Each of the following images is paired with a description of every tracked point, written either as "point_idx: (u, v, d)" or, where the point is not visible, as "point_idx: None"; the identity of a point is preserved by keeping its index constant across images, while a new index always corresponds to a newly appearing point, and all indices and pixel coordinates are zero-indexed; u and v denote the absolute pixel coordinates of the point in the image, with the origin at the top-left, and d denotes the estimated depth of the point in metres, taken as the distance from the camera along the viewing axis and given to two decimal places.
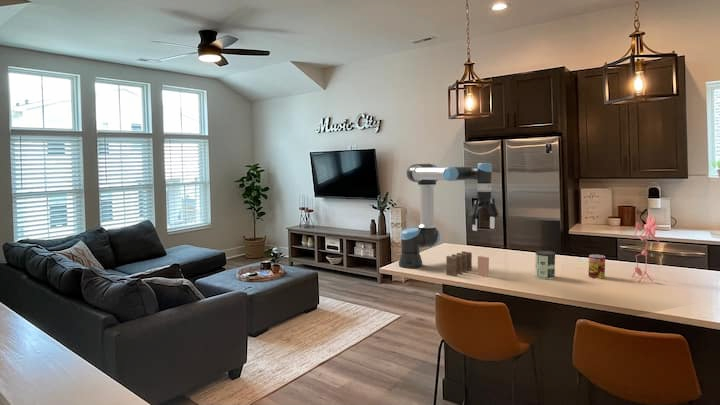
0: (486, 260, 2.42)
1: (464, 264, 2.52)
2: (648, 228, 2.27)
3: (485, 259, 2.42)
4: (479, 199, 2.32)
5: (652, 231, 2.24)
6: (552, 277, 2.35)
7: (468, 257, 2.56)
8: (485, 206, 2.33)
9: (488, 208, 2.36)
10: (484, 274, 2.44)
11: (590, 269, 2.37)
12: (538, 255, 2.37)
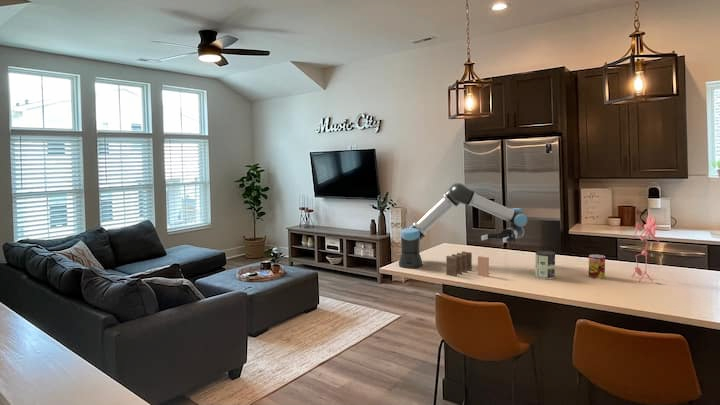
0: (486, 260, 2.42)
1: (464, 264, 2.52)
2: (648, 228, 2.27)
3: (485, 259, 2.42)
4: (511, 236, 2.60)
5: (652, 231, 2.24)
6: (552, 277, 2.35)
7: (468, 257, 2.56)
8: (502, 238, 2.60)
9: (496, 236, 2.61)
10: (484, 274, 2.44)
11: (590, 269, 2.37)
12: (538, 255, 2.37)
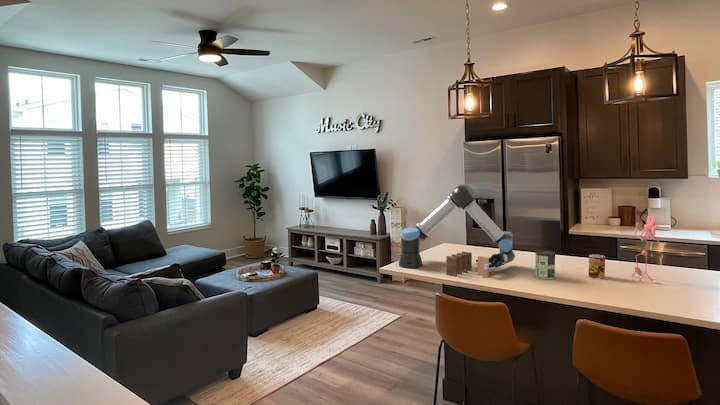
0: (486, 260, 2.42)
1: (464, 264, 2.52)
2: (648, 228, 2.27)
3: (485, 259, 2.42)
4: None
5: (652, 231, 2.24)
6: (552, 277, 2.35)
7: (468, 257, 2.56)
8: (492, 263, 2.52)
9: None
10: (484, 274, 2.44)
11: (590, 269, 2.37)
12: (538, 255, 2.37)
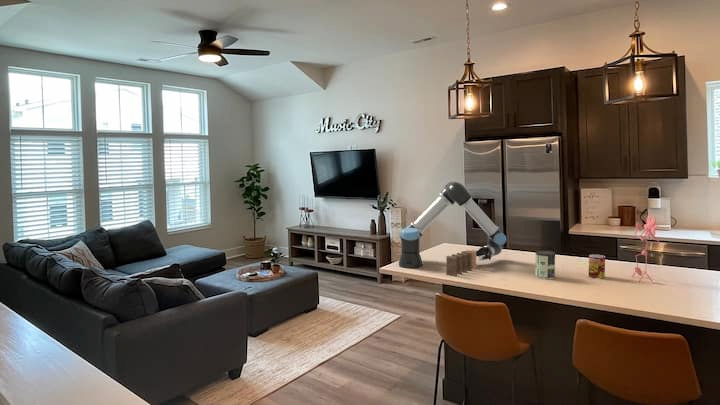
0: (473, 253, 2.60)
1: (464, 264, 2.52)
2: (648, 228, 2.27)
3: (473, 253, 2.60)
4: (488, 254, 2.70)
5: (652, 231, 2.24)
6: (552, 277, 2.35)
7: (468, 257, 2.56)
8: (479, 255, 2.70)
9: None
10: (472, 267, 2.61)
11: (590, 269, 2.37)
12: (538, 255, 2.37)
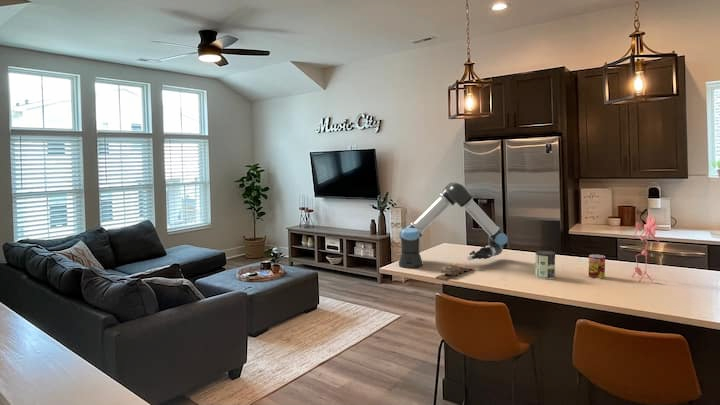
0: (464, 267, 2.53)
1: None
2: (648, 228, 2.27)
3: (463, 267, 2.53)
4: None
5: (652, 231, 2.24)
6: (552, 277, 2.35)
7: (460, 269, 2.51)
8: None
9: None
10: None
11: (590, 269, 2.37)
12: (538, 255, 2.37)
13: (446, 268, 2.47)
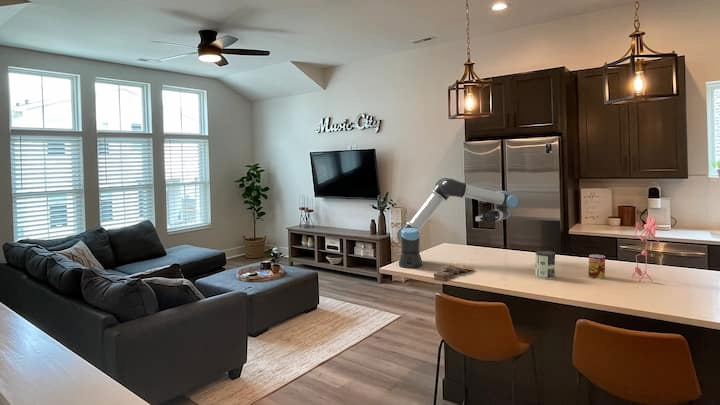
0: (463, 268, 2.52)
1: None
2: (648, 228, 2.27)
3: (462, 268, 2.52)
4: None
5: (652, 231, 2.24)
6: (552, 277, 2.35)
7: None
8: None
9: None
10: None
11: (590, 269, 2.37)
12: (538, 255, 2.37)
13: (439, 267, 2.48)
